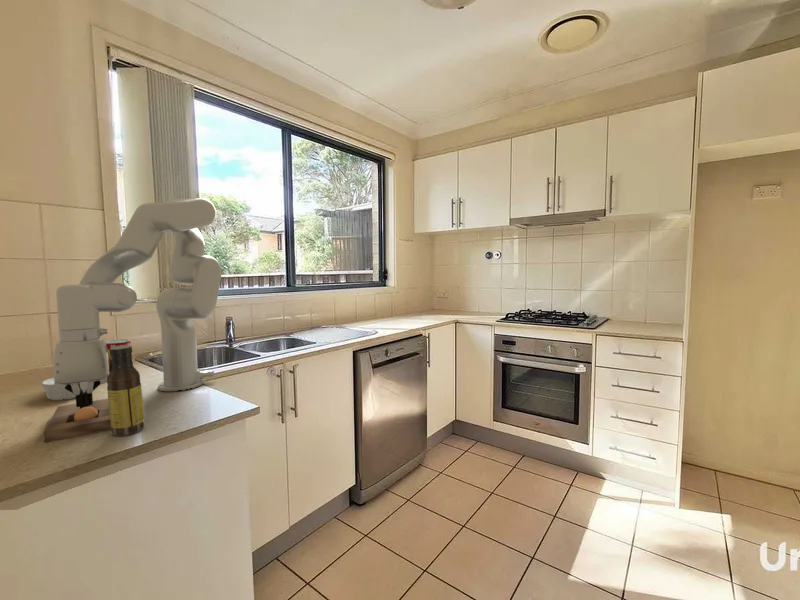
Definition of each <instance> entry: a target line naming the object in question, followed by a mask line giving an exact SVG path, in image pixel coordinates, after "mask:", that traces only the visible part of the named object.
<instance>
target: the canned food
mask: <svg viewBox="0 0 800 600" xmlns="http://www.w3.org/2000/svg"><path fill="white" fill-rule="evenodd" d="M105 342H106V346H107V351H108V358H109V374H110V372H111V370H112V359H111V355H110V348H113V347H117V346H132V345H131V339H130V338H117V339H109V340H105Z"/></svg>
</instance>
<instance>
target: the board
mask: <svg viewBox="0 0 800 600" xmlns="http://www.w3.org/2000/svg"><path fill="white" fill-rule="evenodd" d="M90 407H93V408H95V409H96V410H97V411H98V417H97V418H92V419H86V420H81V421H75V420H74V415H75V413H76V412H77V411H78V410H79V409H80V407H76V403H72V404H64V405H59V406H57V407H56V409H55V411H54V413H53V414H52V416H51V418H50V419H49V421H48V423H47V425H46V426H45V429H44V430H43V438H44V440H43V441H44V443H48V442H53V440H54V441H58V439H59V440H64V439H69V438H73V437H78V436H79V437H80V436H83V435H88V434H93V433H94V434H95V433H98V432H104V431H108V430H112V427H111V421H110V412H109V402H108V398H102V399H97V400H93V405H90ZM68 437H69V438H68ZM63 438H64V439H63Z"/></svg>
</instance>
